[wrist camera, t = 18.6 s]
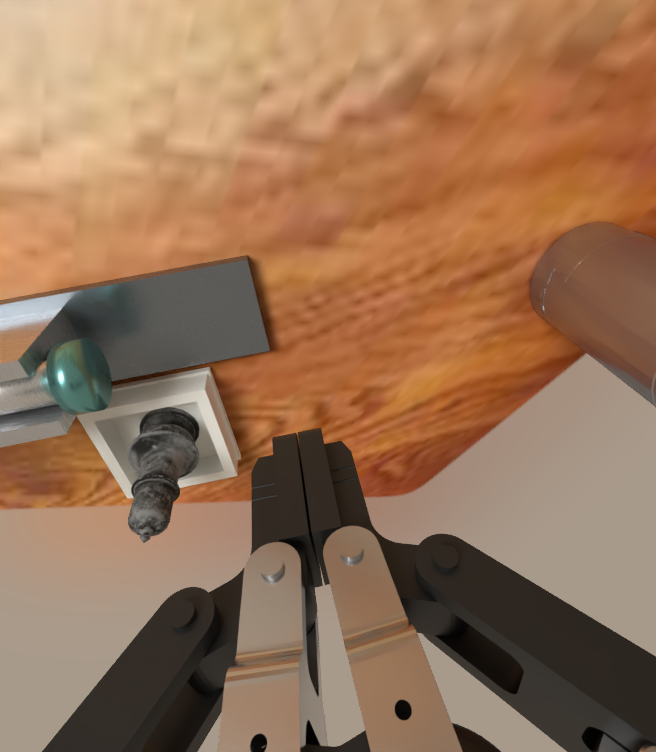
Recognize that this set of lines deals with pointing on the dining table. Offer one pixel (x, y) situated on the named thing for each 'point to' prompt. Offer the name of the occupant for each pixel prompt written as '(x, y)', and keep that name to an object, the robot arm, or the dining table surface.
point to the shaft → (63, 381)
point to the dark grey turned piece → (160, 467)
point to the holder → (176, 391)
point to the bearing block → (131, 330)
